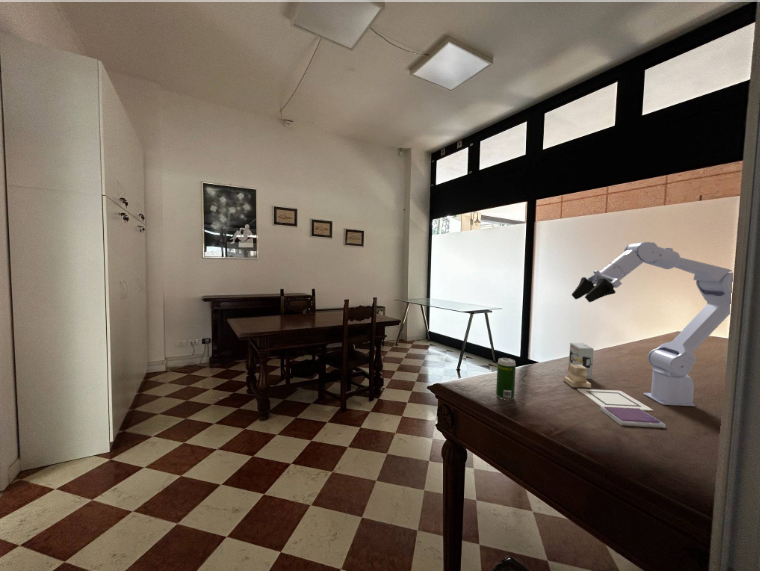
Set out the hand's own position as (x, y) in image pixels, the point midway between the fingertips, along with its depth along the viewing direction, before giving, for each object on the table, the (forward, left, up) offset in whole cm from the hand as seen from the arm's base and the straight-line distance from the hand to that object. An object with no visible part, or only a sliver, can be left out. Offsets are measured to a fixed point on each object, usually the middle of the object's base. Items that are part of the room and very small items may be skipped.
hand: (580, 298), depth 99 cm
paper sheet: (-11, +2, -32) cm, 34 cm away
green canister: (+23, +4, -32) cm, 40 cm away
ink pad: (-8, +14, -32) cm, 36 cm away
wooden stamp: (-6, -9, -32) cm, 34 cm away
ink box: (-13, -21, -32) cm, 40 cm away
